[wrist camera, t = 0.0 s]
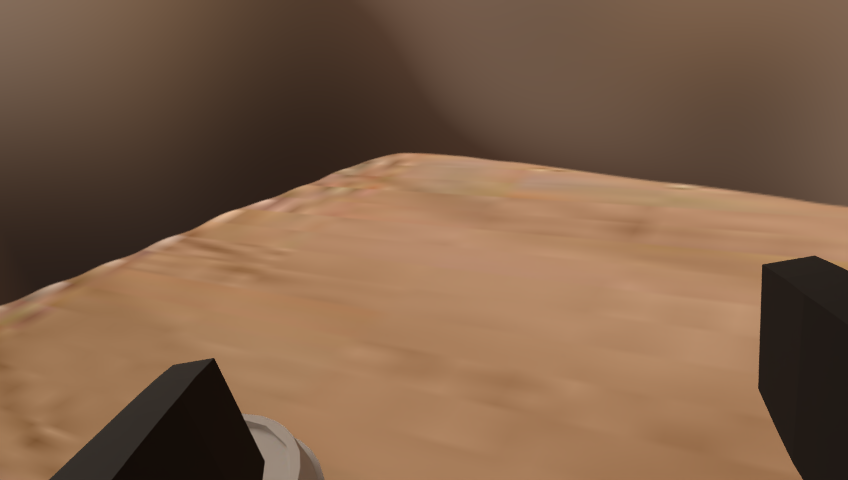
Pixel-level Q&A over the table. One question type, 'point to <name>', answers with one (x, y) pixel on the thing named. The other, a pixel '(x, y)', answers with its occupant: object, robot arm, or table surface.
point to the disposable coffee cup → (282, 451)
